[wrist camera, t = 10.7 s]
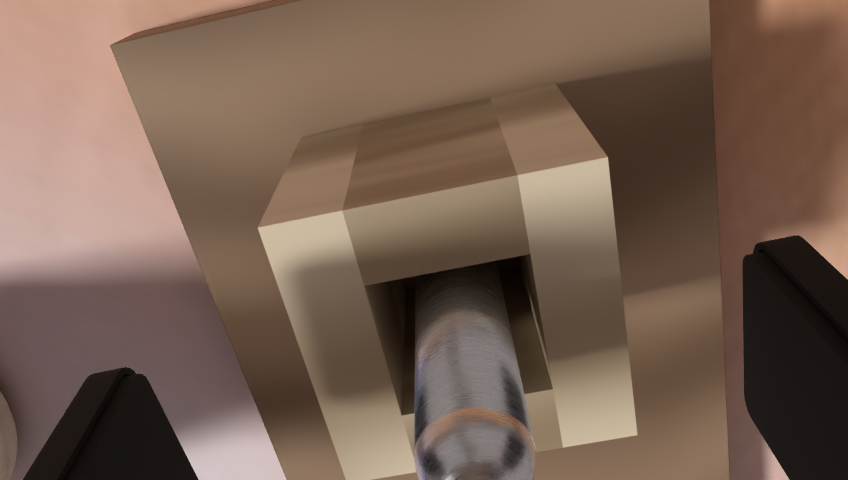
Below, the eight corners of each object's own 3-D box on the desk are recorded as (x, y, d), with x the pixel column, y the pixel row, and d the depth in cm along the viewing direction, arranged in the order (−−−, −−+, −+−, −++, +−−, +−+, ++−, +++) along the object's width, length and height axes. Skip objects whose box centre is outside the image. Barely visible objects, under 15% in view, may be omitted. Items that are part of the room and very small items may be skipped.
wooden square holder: (300, 137, 17) (257, 227, 12) (555, 83, 16) (607, 157, 12) (363, 346, 19) (347, 483, 15) (585, 305, 19) (637, 435, 14)
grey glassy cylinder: (408, 202, 17) (400, 464, 9) (480, 187, 17) (534, 441, 9) (424, 265, 18) (429, 558, 10) (493, 251, 18) (553, 537, 10)
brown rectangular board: (134, 33, 17) (110, 45, 16) (680, -97, 16) (705, -95, 15) (364, 624, 27) (361, 664, 25) (718, 570, 25) (734, 608, 24)
